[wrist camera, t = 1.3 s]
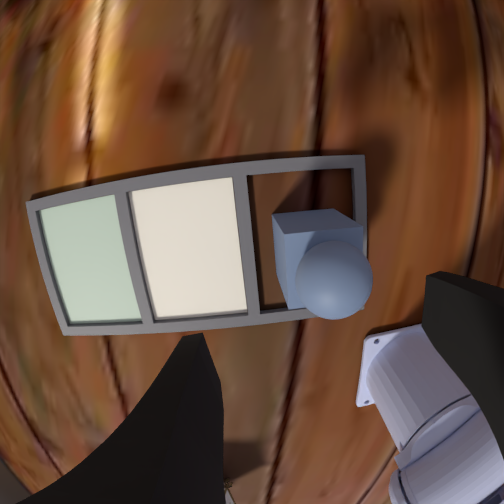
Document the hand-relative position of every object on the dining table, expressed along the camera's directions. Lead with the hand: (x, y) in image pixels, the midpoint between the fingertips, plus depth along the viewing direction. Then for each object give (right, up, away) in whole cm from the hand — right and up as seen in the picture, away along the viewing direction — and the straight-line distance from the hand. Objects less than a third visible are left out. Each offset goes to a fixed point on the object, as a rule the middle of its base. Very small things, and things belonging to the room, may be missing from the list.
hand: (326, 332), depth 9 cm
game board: (-6, +2, +11) cm, 13 cm away
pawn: (+1, +3, +11) cm, 12 cm away
